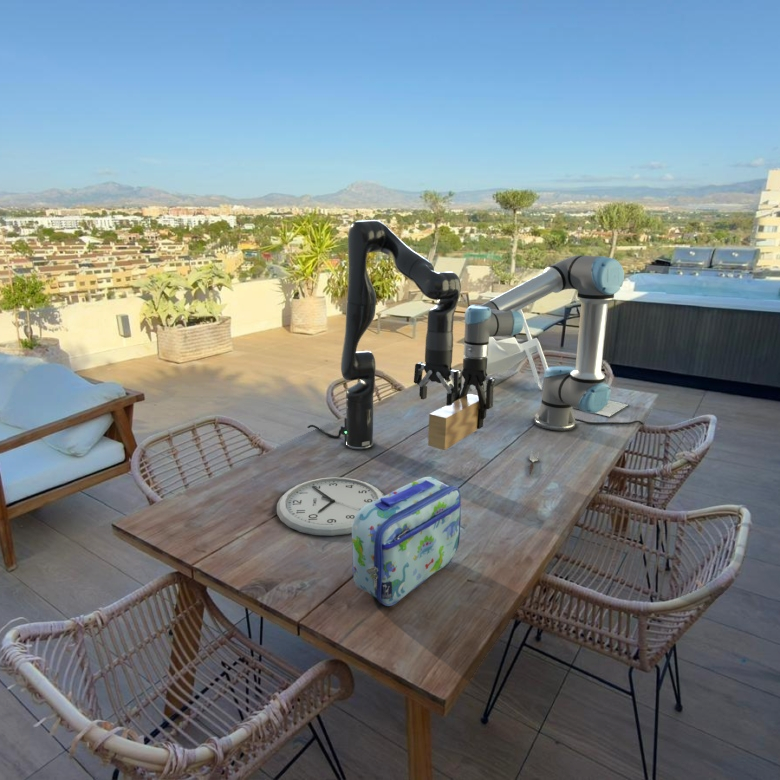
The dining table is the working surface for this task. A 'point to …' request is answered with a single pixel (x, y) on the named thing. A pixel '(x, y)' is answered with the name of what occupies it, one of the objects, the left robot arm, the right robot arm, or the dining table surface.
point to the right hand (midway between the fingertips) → (471, 425)
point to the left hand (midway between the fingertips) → (436, 401)
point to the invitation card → (611, 408)
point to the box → (453, 422)
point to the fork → (533, 461)
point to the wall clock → (325, 505)
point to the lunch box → (405, 538)
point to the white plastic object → (513, 353)
